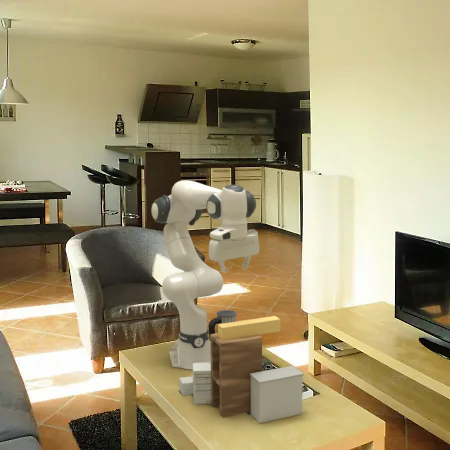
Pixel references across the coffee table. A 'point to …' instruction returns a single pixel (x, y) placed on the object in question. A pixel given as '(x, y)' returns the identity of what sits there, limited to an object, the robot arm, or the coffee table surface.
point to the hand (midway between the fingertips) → (234, 270)
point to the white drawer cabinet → (202, 383)
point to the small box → (186, 385)
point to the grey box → (276, 393)
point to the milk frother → (221, 320)
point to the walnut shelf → (234, 372)
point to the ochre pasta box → (248, 327)
